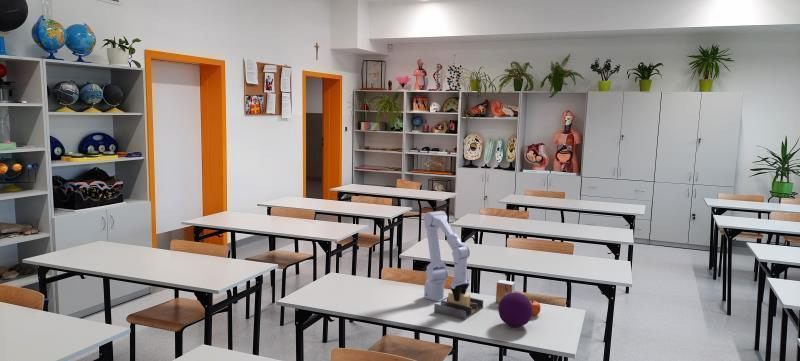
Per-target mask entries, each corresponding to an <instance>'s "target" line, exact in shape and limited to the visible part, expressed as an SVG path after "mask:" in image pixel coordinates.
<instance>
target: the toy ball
mask: <svg viewBox="0 0 800 361" xmlns="http://www.w3.org/2000/svg"><path fill="white" fill-rule="evenodd" d="M530 301H531V300H530V299H529V298H528V297H527V296H526V295H524V294H523V293H520V292H516V291H515V292H514V293H509V294H507V295H505V296H504V297H503V298H502V299H501V301H500V303H498V307H497V311H498V315H499V318H500V319H501V320H502V322H503V323H504V324H505V325H507V326H509V327H512V328H520V327H523V326H525V325H526V324H528V323H529V322H530V320H531V319H532V313H533V308H532V305H531V302H530Z"/></svg>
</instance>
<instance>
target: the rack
mask: <svg viewBox="0 0 800 361" xmlns="http://www.w3.org/2000/svg"><path fill="white" fill-rule="evenodd" d="M446 297H447V298H446V300H441V301H440V304H438V303H434V304H433V312H434V313H435V314H439V315H442V316H446V317H451V318H453V319H454V318H455V319H459V320H463V321H466V320H467V319H469V318H470V317H472V316H473V315H475V314H477V313H478V312H480V311H481V310H483V309H484V299H479V298H474V297H471V296H470V307H468V306H464V305H460V304H456V303H452V302H448V296H446Z"/></svg>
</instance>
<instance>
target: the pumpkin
mask: <svg viewBox="0 0 800 361" xmlns="http://www.w3.org/2000/svg"><path fill="white" fill-rule="evenodd" d="M530 302H531V305H532V308H533V313H532V316H533V317H535V316H538V315H539V314H540V313H541V308H542V307H541V303H539V302H537V301H536V300H533V299H532V300H530Z"/></svg>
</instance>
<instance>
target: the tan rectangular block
mask: <svg viewBox="0 0 800 361" xmlns="http://www.w3.org/2000/svg"><path fill="white" fill-rule="evenodd" d="M447 295H448V296H447V297H448V302H452V303H456V304H460V305H464V306H468V307H470V297H471V295H470V294H466V293H465V294H462V293H460V299H459V301H454V296H453V293H452V290H451V291H450V292H448V294H447Z"/></svg>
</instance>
